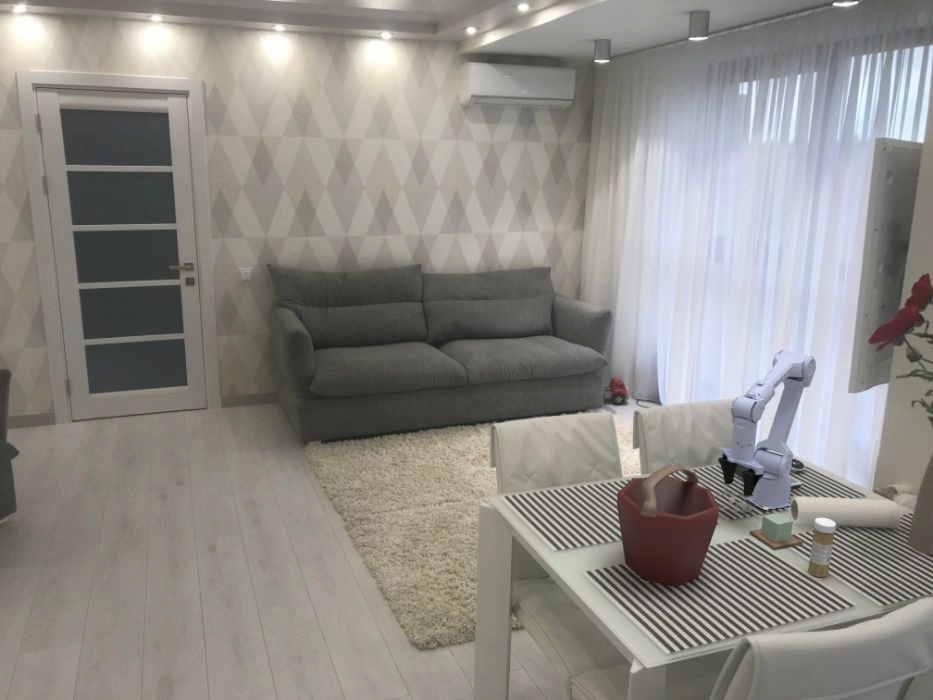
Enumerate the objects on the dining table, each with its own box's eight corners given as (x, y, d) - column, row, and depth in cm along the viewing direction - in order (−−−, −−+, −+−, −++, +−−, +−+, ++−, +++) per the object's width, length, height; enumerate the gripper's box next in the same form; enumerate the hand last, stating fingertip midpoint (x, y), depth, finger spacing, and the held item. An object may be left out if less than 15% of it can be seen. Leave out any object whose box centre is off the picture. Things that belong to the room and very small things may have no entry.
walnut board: (776, 528, 198) (777, 525, 197) (802, 544, 189) (802, 541, 189) (749, 533, 194) (749, 531, 194) (774, 550, 186) (774, 547, 186)
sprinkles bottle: (816, 566, 179) (823, 515, 176) (832, 575, 175) (840, 523, 172) (803, 570, 177) (810, 519, 174) (819, 580, 173) (827, 527, 170)
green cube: (776, 530, 195) (778, 512, 194) (790, 539, 190) (792, 521, 189) (761, 533, 193) (763, 515, 192) (775, 542, 189) (777, 524, 187)
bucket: (657, 604, 163) (666, 499, 157) (589, 559, 181) (595, 463, 175) (731, 573, 175) (742, 475, 169) (661, 534, 193) (669, 444, 187)
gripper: (713, 434, 201) (708, 480, 204) (750, 453, 188) (744, 502, 191) (734, 431, 203) (729, 477, 206) (772, 450, 190) (766, 498, 193)
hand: (738, 489), depth 199 cm, fingers open, 7 cm apart
